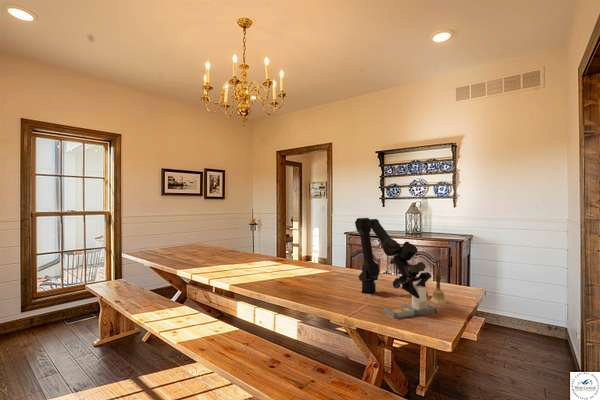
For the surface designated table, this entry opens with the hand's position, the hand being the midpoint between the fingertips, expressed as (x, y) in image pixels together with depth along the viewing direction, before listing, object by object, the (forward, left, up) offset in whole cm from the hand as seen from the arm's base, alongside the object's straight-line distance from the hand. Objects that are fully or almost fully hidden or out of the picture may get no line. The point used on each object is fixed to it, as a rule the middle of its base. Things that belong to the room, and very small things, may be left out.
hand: (422, 297), depth 135 cm
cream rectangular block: (-2, +1, -6) cm, 6 cm away
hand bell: (+6, +18, -7) cm, 20 cm away
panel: (-6, -2, -7) cm, 9 cm away
